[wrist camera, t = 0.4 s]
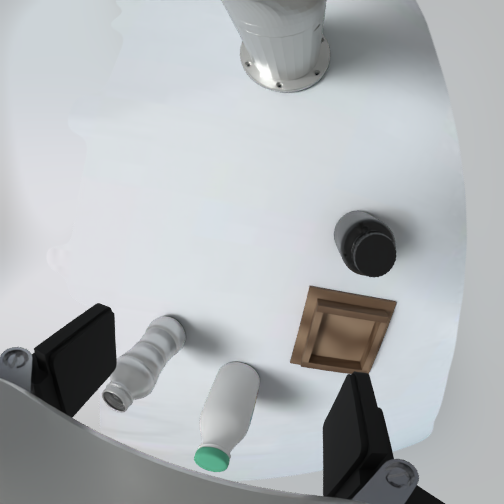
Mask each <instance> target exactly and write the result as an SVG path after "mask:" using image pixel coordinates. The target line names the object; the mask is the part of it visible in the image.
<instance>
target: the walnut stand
mask: <svg viewBox="0 0 504 504" xmlns="http://www.w3.org/2000/svg"><path fill="white" fill-rule="evenodd" d="M395 306H396V301H392V300H386V299H380V298H374V297H369V296H363V295H357V294H352V293H346V292H341V291H335V290H330V289H325V288H319V287H314V286H310V287H309V291H308V295H307V299H306V303H305V307H304V311H303V315H302V319H301V323H300V327H299V331H298V334H297V338H296V342H295V346H294V349H293V353H292V356H291V360H290V363H293V364H299V365H301V367H307V368H313V369H320V370H326V371H333V372H340V373H348V374H352V373H353V372H354V371H356V372H363V373H368V374H369V372H370V369H371V367H372V365H373V362H374V360H375V358H376V355H377V353H378V351H379V348H380V346H381V343H382V341H383V338H384V336H385V333H386V330H387V328H388V325H389V322H390V320H391V317H392V314H393V311H394V308H395Z"/></svg>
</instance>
